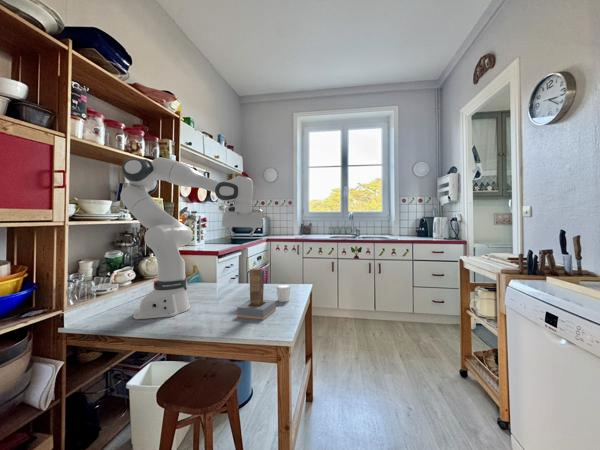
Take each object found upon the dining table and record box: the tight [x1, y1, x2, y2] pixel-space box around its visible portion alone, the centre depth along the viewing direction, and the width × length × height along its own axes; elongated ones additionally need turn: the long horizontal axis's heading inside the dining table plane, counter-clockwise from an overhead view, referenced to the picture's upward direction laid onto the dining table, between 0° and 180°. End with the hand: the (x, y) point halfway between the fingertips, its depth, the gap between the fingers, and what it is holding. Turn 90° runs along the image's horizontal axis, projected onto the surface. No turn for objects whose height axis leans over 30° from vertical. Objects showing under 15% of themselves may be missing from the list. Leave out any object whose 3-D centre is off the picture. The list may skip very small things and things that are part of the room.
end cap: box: [236, 299, 277, 320], centre depth 113 cm, size 12×12×4 cm
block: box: [248, 267, 264, 307], centre depth 113 cm, size 4×4×18 cm
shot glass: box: [275, 284, 291, 303], centre depth 131 cm, size 7×7×7 cm
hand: (242, 236), depth 134 cm, fingers open, 8 cm apart
